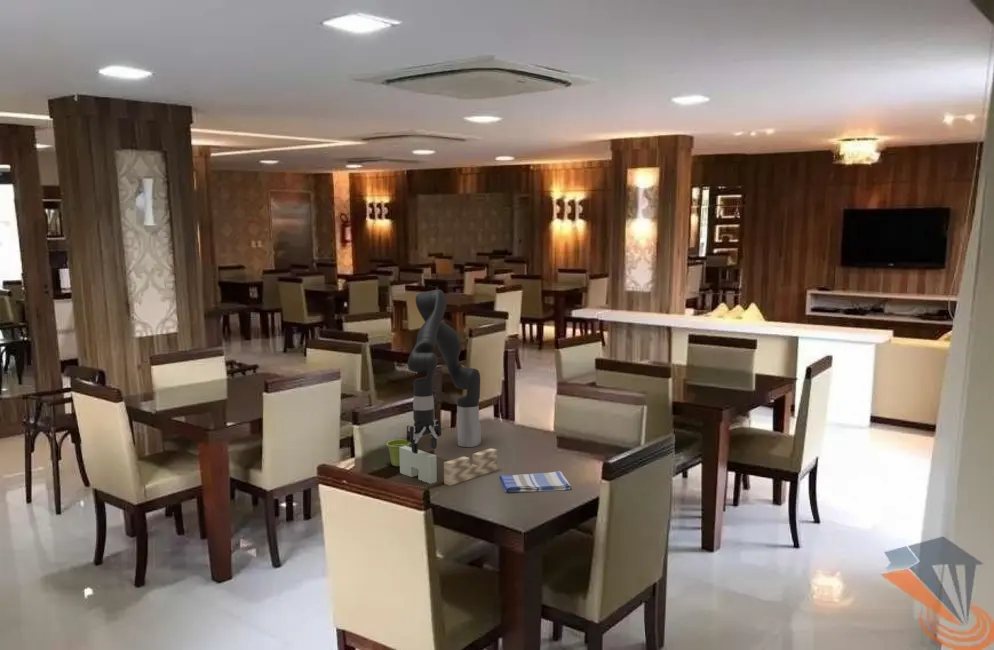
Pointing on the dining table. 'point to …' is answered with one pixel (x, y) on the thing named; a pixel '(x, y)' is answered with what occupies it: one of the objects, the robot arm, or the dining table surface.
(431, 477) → the sage slotted board
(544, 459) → the dining table surface
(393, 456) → the plant pot
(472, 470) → the maple slotted board
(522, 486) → the dish towel
